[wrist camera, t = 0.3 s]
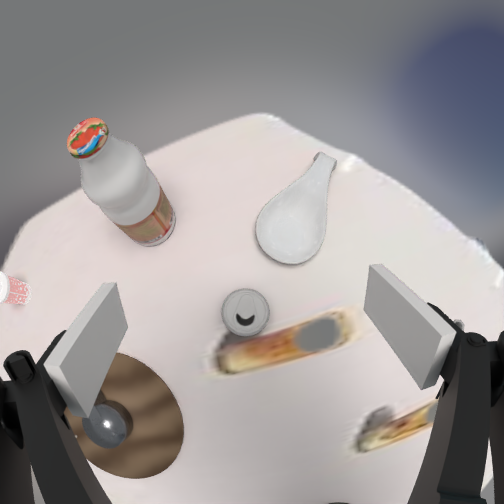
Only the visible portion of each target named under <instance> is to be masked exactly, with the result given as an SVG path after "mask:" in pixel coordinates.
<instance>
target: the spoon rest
mask: <svg viewBox="0 0 504 504" xmlns="http://www.w3.org/2000/svg"><path fill="white" fill-rule="evenodd" d="M314 160H315V162H314V163H313V165H312V166H311V167H310V169H309V170H308V171H307V172H306V173H305V174H304V175H303V176H302V177H300V178H299V179H298V180H297V181H295V182H294V183H292V184H291V185H289V186H288V187H287V188H285V189H284V190H282V191H281V192H280V193H278V194H277V195H276V196H275V197H273V198H272V199H271V200H270V201H269V202H268V203H267V204H266V205H265V206H264V208H263V209H262V210H261V212H260V214H259V216H258V218H257V222H256V237H257V240H258V242H259V245H260V246H261V248H262V249H263V251H264V252H265V253H266V254H267V255H269V256H270V257H271V258H273V259H274V260H276V261H278V262H281V263H285V264H299V263H303V262H305V261H307V260H309V259H310V258H311V257H313V256H314V255H315V254H316V253H317V251H318V250H319V249H320V247H321V245H322V243H323V240H324V236H325V232H326V223H327V193H328V184H329V178H330V175H331V172H332V170H334V169H335V167H336V164H337V160H336V159H334V158H331V157H329V156H327V155H326V154H324V153H323V152H318V153H317V154H316V156H315V157H314Z"/></svg>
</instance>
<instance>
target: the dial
mask: <svg viewBox="0 0 504 504" xmlns="http://www.w3.org/2000/svg"><path fill="white" fill-rule="evenodd" d="M82 425H83V428H84V431H85V433H86V435H87V436H88V437H89V438H90V440H91V441H92V442H94V443H95V444H96V445H98V446H100V447H103V448H107V449H111V448H115V447H117V446H119V445H120V444H121V443H122V442H123V441H124V440H125V439H126V438H128V437H129V436H130V434H131V433H132V430H133V421H132V418H131V415H130V414H129V412H128V411H127V410H126V408H125V407H124V406H122V405H121V404H119V403H117V402H115V401H112V400H107V399H106V398H105V396H104V394H103V393H102V391H101V389H100V391H99V393H98V395H97V398H96V400H95V403H94V405H93V408H92V410H91V413H90V415H89V418H84V417H82Z"/></svg>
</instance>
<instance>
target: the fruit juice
mask: <svg viewBox="0 0 504 504" xmlns="http://www.w3.org/2000/svg"><path fill="white" fill-rule="evenodd" d="M67 147H68V150H69V151H70V153H71V155H72V156H73V157H75V158H76V159H78V160H79V164H80V168H81V184H82V188H83V191H84V193H85V194H86V196H87V197H88V198H89V199H90V200H91V201H92V202H93V203H94V204H96V205H98V206H99V207H100V209H101V210H102V212H103V213H104V214H105V215H106V216H107V218H108V219H110V220H111V221H112V222H113V223H114V224H115V225H117V226H118V227H119V228H120V229H121V230H122V231H123V232H124V233H126V234H127V235H128V236H129V237H130V238H131V239H132V240H134V241H135V242H136V243H138V244H141V245H144V246H154V245H157V244H160V243H162V242H163V241H165V240H166V239H167V238H168V237H169V235H170V234H171V232H172V231H173V228H174V224H175V215H174V211H173V208H172V207H171V205H170V203H169V201H168V199H167V197H166V195H165V194H164V192H163V190H162V188H161V186H160V184H159V182H158V180H157V178H156V176H155V175H154V173H153V172H152V171H151V169H150V168H149V167H148V166H147V164H146V160H145V158H144V156H143V154H142V153H141V151H140V150H139V149H138V148H137V147H136V146H135V145H133V144H132V143H130V142H127V141H123V140H119V139H118V138H116V137H114V136H112V135H111V134H109V130H108V127H107V125H106V124H105V123H104V122H103V121H102V120H101V119H99V118H89V119H86V120H84V121H82V122H80V123H79V124H78V125H77V126H76V127H75V128H74V129H73V130H72V131H71V133H70V135H69V137H68V140H67Z"/></svg>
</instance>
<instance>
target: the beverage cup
mask: <svg viewBox="0 0 504 504" xmlns="http://www.w3.org/2000/svg"><path fill="white" fill-rule="evenodd" d="M31 296H32V291H31V288H30V286H29V285H28V284H27V283H25V282H22V281H20V280H17V279H15V278H12V277H10V276H7V275H6V274H5V273H3V272H0V304H1V303H13V304H28V303H29V301H30V299H31Z"/></svg>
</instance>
